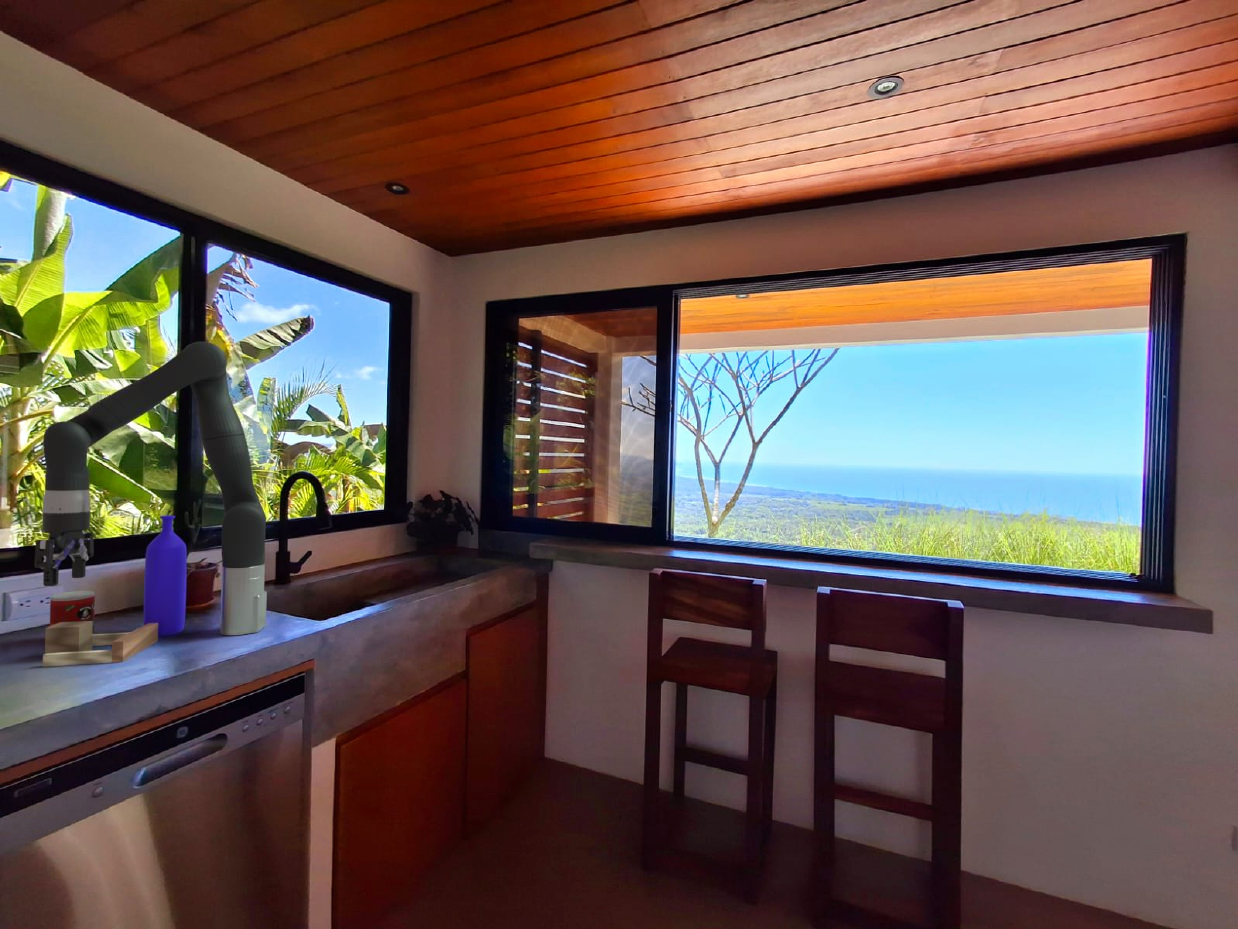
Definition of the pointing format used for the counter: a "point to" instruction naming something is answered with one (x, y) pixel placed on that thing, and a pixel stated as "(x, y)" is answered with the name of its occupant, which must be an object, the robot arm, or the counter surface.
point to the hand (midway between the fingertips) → (65, 581)
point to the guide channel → (121, 650)
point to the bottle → (165, 581)
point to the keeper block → (69, 637)
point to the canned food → (72, 607)
